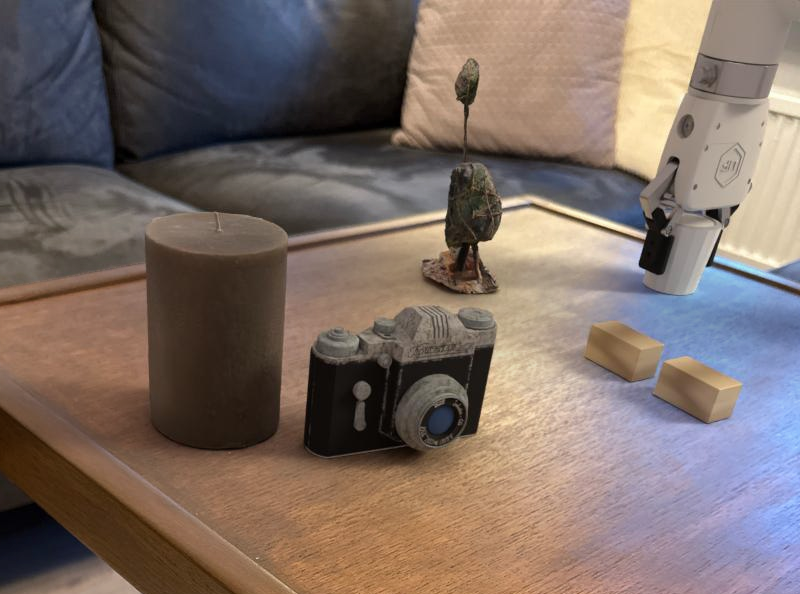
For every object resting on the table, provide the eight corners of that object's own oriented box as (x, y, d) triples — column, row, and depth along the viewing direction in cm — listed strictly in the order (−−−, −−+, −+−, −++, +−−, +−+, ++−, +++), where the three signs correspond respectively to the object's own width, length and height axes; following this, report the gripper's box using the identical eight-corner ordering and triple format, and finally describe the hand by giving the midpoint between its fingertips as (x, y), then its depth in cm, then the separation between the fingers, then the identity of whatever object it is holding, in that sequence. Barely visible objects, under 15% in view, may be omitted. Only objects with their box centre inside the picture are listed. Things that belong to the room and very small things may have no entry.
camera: (334, 482, 68) (348, 343, 62) (294, 437, 73) (304, 304, 66) (510, 452, 74) (540, 322, 67) (463, 412, 78) (487, 287, 72)
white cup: (678, 301, 103) (700, 232, 99) (624, 281, 107) (643, 214, 103) (713, 290, 107) (735, 223, 103) (659, 271, 111) (679, 205, 106)
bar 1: (654, 376, 87) (664, 344, 85) (631, 382, 86) (640, 349, 84) (606, 351, 91) (614, 319, 89) (582, 356, 89) (591, 324, 88)
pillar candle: (253, 461, 69) (262, 243, 60) (127, 433, 71) (116, 217, 62) (296, 406, 77) (310, 204, 67) (180, 381, 78) (178, 181, 69)
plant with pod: (421, 298, 98) (454, 70, 85) (419, 261, 106) (449, 49, 94) (502, 307, 98) (547, 79, 85) (493, 269, 106) (533, 58, 94)
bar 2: (730, 417, 82) (743, 383, 80) (707, 423, 80) (719, 389, 78) (676, 388, 85) (686, 355, 84) (652, 394, 84) (662, 360, 82)
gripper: (701, 90, 88) (644, 288, 99) (819, 85, 96) (754, 269, 107) (640, 73, 93) (592, 264, 104) (757, 70, 101) (701, 248, 112)
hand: (674, 265), depth 106 cm, fingers closed on white cup, 6 cm apart
